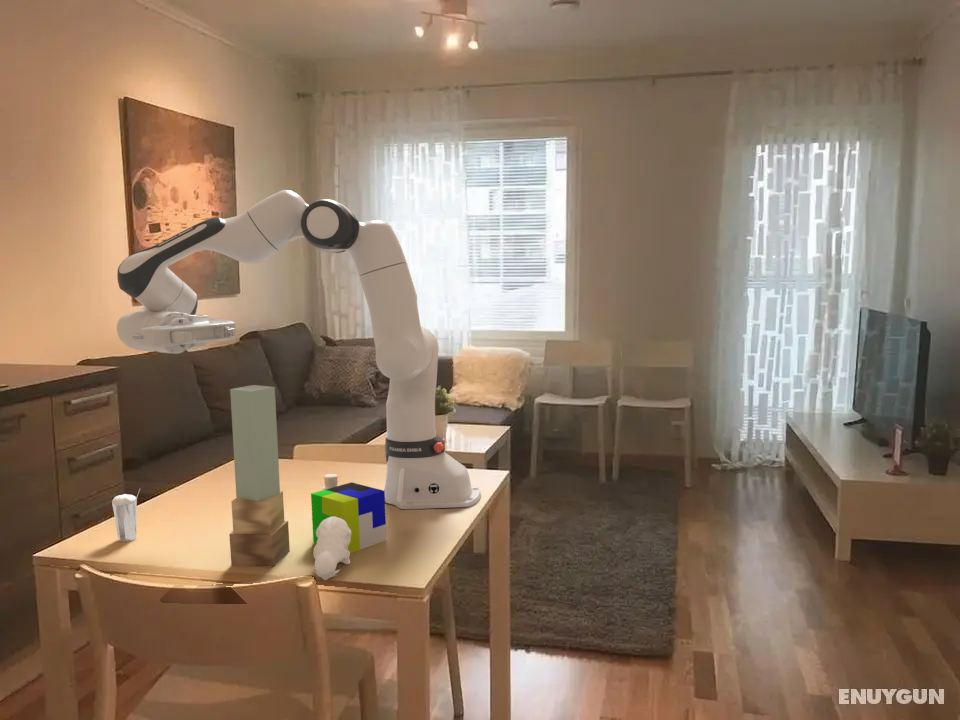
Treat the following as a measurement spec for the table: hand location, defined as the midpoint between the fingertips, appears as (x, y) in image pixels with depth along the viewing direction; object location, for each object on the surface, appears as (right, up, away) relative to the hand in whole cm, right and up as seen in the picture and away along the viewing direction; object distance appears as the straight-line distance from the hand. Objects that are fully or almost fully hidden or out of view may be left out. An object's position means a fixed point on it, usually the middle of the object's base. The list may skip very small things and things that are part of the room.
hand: (213, 334), depth 168 cm
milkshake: (-16, -41, -2) cm, 44 cm away
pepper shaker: (+24, -40, +2) cm, 46 cm away
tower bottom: (+14, -42, -15) cm, 46 cm away
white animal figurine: (+28, -43, -21) cm, 55 cm away
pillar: (+13, -30, -16) cm, 37 cm away
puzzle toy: (+29, -41, -7) cm, 50 cm away
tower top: (+13, -36, -15) cm, 41 cm away
